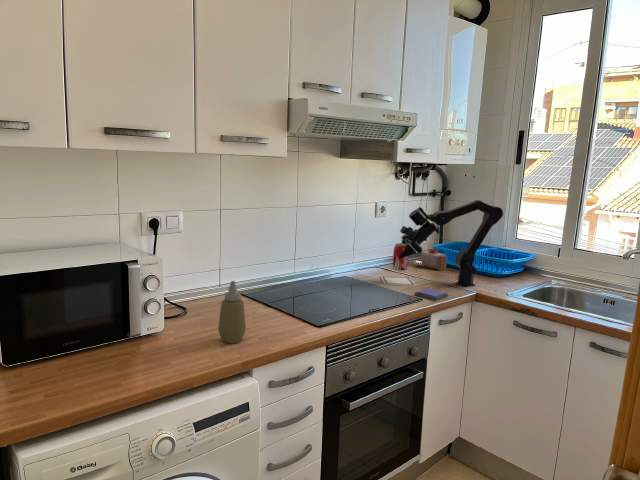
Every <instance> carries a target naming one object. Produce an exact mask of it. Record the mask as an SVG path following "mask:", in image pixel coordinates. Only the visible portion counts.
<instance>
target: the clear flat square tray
mask: <svg viewBox="0 0 640 480" xmlns="http://www.w3.org/2000/svg"><path fill="white" fill-rule="evenodd" d="M380 279H381V280H382V282H383V284H384V285H385V286H401V287H402V286H405V287H416V286H417V285H416V284H415V282H414V281H413V280H412V279H411V277H405V276H404V277H402V276H384V275H380Z"/></svg>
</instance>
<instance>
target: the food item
mask: <svg viewBox="0 0 640 480" xmlns="http://www.w3.org/2000/svg"><path fill="white" fill-rule="evenodd" d="M447 257H448V256H447V254H444V253H440V252H439V251H438V250H436V249H432V250H424V251H423V250H422V252H421V264H422V265H424V266H426V267H425V268H428V267H430V268H429V269H432V268H433V269H432V270H435V269H436V271H439V270H440V271H445V270H446V268H447ZM424 266H423V267H424Z"/></svg>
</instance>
